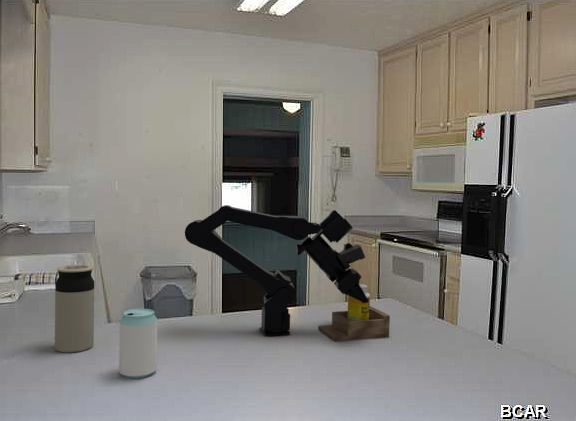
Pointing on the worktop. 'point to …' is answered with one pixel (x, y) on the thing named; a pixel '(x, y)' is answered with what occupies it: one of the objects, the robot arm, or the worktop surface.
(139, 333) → the can
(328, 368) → the worktop surface
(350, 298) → the supplement bottle
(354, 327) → the open wooden box
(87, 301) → the travel mug
